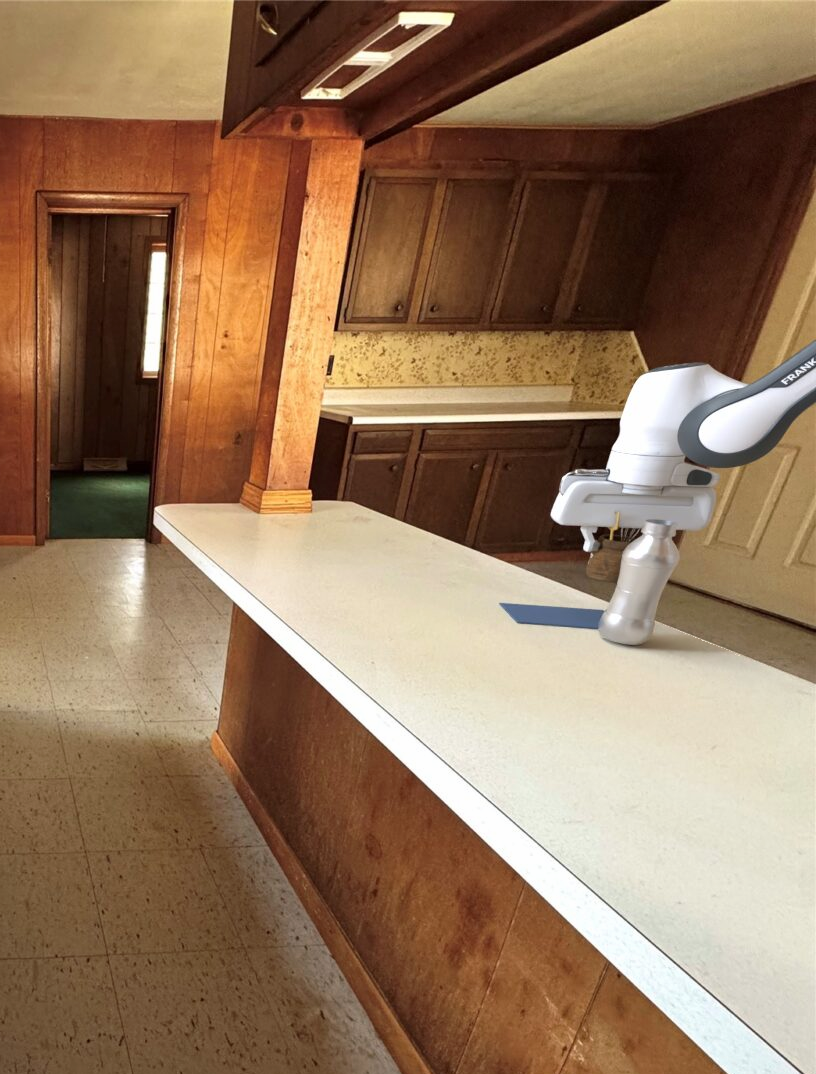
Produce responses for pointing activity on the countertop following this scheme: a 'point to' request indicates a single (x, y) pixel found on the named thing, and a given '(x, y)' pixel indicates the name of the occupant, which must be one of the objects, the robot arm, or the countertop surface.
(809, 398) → the robot arm
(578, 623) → the mat
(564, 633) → the countertop surface
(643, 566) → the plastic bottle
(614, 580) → the utensil holder
